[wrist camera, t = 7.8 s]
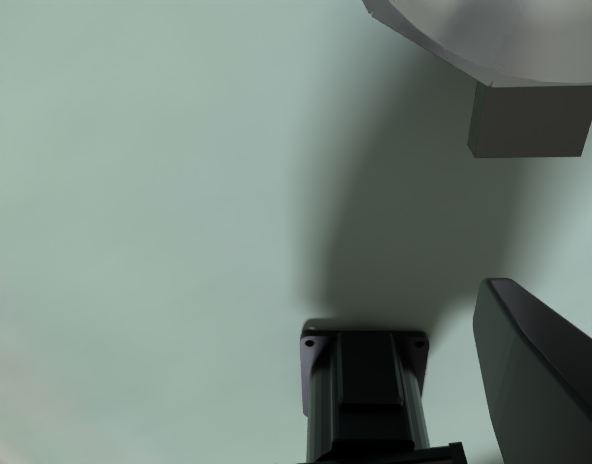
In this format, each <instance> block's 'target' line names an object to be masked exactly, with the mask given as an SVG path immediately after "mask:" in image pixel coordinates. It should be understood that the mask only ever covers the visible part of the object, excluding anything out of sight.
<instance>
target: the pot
mask: <svg viewBox="0 0 592 464" xmlns="http://www.w3.org/2000/svg"><path fill="white" fill-rule="evenodd" d="M362 1H363V3H364V5H365V7H366V9H367V11H368V13H370V14H371V16H372V17H373V18H375V19H376V20H378V21H380V22H381V23H383V24H385V25H386V26H388V27H390V28H391V29H393V30H395V31H396V32H398V33H400V34H401V35H403V36H405V37H406V38H408V39H410V40H411V41H413V42H415V43H417V44H418V45H420V46H422V47H423V48H425V49H427V50H428V51H430V52H432V53H433V54H435V55H437V56H438V57H440V58H442V59H443V60H445V61H447V62H448V63H450V64H452V65H453V66H455V67H457V68H458V69H460V70H462V71H463V72H465V73H467V74H468V75H470V76H472V77H473V78H475V79H477V80H478V81H477V87H476V94H475V100H474V106H473V112H472V118H471V124H470V131H469V137H468V143H467V145H468V146H469V148H470V150H471V151H472V153H473V155H474V157H475V158H514V157H581V154H582V151H583V148H584V144H585V141H586V138H587V134H588V131H589V128H590V125H591V121H592V82H589V83H561V82H542V81H536V80H531V79H525V78H520V77H514V76H509V75H506V74H503V73H500V72H497V71H494V70H491V69H488V68H485V67H482V66H479V65H476V64H474V63H472V62H470V61H468V60H466V59H464V58H462V57H460V56H458V55H456V54H454V53H452V52H450V51H448V50H446V49H445V48H444V47H442V46H441V45H439V44H438V43H437V42H435V41H434V40H432V39H431V38H430V37H428V36H427V35H425V34H424V33H423V32H421V31H420V30H418V29H417V28H416V27H415V26H414V25H413V24H412V23H411V22H410V21H409V20H408V19H407V18H406V17H405V16H404V15H403V14H402V13H401V12H400V11H398V10H397V9H396V8H395V7H394V6H393V5H392V4H391V3H390V1H389V0H362Z"/></svg>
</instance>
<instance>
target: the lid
mask: <svg viewBox="0 0 592 464" xmlns="http://www.w3.org/2000/svg"><path fill="white" fill-rule="evenodd" d="M389 1H390V3H391V4H392V5H393V6H394V7H395V8H396V9H397V10H398V11H400V12H401V13H402V14H403V15H404V16H405V17H406V18H407V19H408V20H409V21H410V22H411V23H412V24H413V25H414V26H415V27H416V28H417V29H418V30H420V31H421V32H423V33H424V34H425V35H427V36H428V37H430V38H431V39H432V40H434V41H435V42H437V43H438V44H439V45H441V46H442V47H444V48H445V49H446V50H448V51H450V52H452V53H454V54H456V55H458V56H460V57H462V58H464V59H466V60H468V61H470V62H472V63H474V64H476V65H479V66H482V67H485V68H488V69H491V70H494V71H497V72H500V73H503V74H506V75H509V76H514V77H520V78H525V79H531V80H536V81H542V82H561V83H589V82H592V0H389Z"/></svg>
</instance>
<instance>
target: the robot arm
mask: <svg viewBox="0 0 592 464" xmlns="http://www.w3.org/2000/svg"><path fill="white" fill-rule="evenodd" d="M473 332H474V337H475V342H476V347H477V353H478V358H479V363H480V368H481V373H482V378H483V383H484V388H485V394H486V399H487V404H488V408H489V413H490V418H491V421H492V425H493V428H494V432H495V435H496V438H497V441H498V444H499V448H500V451H501V454H502V457H503V460H504V463H505V464H592V338H590V337H589V336H588V335H586V334H585V333H584V332H582V331H581V330H580V329H578V328H577V327H576V326H574V325H573V324H572V323H570V322H569V321H568V320H566V319H565V318H563V317H562V316H561V315H559V314H558V313H557V312H555V311H554V310H553V309H551V308H550V307H549V306H547V305H546V304H545V303H543V302H542V301H540V300H539V299H538V298H536V297H535V296H534V295H532V294H531V293H530V292H528V291H527V290H526V289H524V288H523V287H522V286H520V285H519V284H517V283H516V282H515V281H513V280H511V279H508V278H486V279H484V280H483V281H482V283H481V285H480V288H479V293H478V297H477V302H476V307H475V311H474V316H473ZM307 340H313V341H307ZM417 341H421V342H417ZM428 350H429V339H428V336H427V334H426V333H424V332H420V331H305V332H303V333H302V334H301V337H300V355H301V377H302V399H303V413H304V415H305V416H307V417H308V426H307V456H306V463H298V464H467V460H466V457H465V453H464V449H463V446H462V442H455V443H449V446H441V447H433V448H430V443H429V438H428V433H427V428H426V423H425V418H424V412H423V407H422V402H421V396H422V389H423V383H424V376H425V370H426V363H427V357H428Z"/></svg>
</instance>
